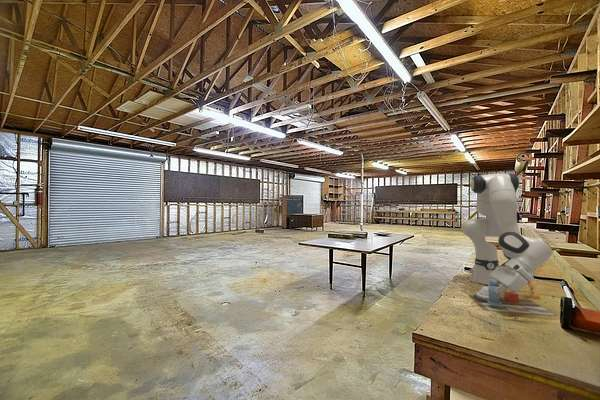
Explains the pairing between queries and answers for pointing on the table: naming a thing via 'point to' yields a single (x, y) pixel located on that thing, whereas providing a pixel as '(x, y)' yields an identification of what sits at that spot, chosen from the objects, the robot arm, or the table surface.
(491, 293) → the pawn
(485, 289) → the dome
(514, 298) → the red die
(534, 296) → the figurine
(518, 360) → the table surface
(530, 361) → the table surface
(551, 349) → the table surface
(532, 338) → the table surface
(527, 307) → the game board
